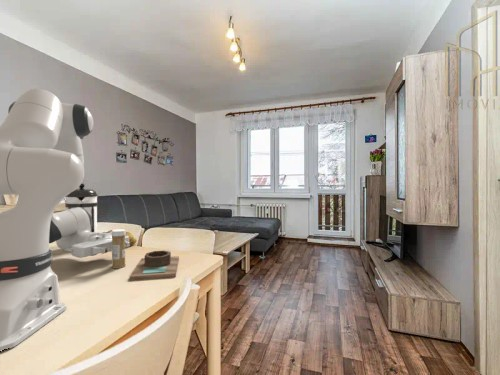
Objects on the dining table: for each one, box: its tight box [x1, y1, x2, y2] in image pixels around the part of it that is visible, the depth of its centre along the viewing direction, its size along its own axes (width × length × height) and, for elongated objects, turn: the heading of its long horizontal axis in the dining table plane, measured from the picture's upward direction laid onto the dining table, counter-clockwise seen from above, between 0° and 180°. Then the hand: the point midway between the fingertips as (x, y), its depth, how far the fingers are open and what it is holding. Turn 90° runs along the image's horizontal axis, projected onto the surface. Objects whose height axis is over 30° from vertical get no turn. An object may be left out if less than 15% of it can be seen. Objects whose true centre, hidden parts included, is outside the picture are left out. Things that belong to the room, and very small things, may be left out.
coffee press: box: [64, 183, 99, 232], centre depth 117 cm, size 17×16×30 cm
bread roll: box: [107, 229, 137, 247], centre depth 119 cm, size 13×10×8 cm
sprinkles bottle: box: [111, 228, 127, 269], centre depth 91 cm, size 5×5×14 cm
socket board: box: [129, 250, 180, 281], centre depth 89 cm, size 19×14×5 cm
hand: (117, 247), depth 91 cm, fingers open, 8 cm apart
